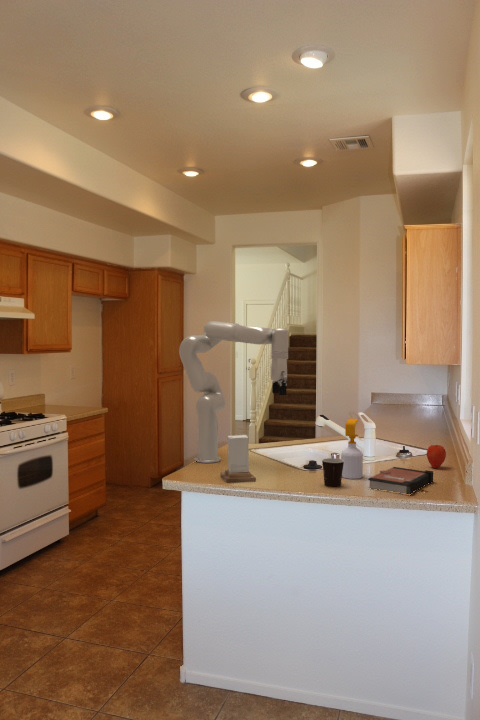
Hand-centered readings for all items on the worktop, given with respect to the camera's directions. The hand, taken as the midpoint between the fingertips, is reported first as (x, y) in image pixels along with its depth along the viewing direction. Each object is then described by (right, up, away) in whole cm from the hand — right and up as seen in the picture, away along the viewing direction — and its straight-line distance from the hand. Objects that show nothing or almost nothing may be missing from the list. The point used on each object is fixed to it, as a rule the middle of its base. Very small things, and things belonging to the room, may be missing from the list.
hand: (279, 394), depth 266 cm
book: (+47, -36, -28) cm, 65 cm away
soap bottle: (+30, -34, -14) cm, 48 cm away
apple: (+71, -34, +4) cm, 79 cm away
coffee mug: (+19, -35, -31) cm, 50 cm away
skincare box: (-18, -31, -20) cm, 41 cm away
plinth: (-18, -34, -20) cm, 44 cm away
